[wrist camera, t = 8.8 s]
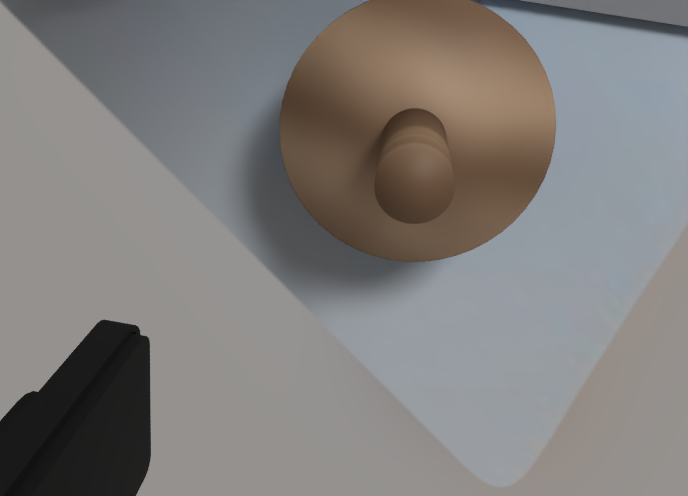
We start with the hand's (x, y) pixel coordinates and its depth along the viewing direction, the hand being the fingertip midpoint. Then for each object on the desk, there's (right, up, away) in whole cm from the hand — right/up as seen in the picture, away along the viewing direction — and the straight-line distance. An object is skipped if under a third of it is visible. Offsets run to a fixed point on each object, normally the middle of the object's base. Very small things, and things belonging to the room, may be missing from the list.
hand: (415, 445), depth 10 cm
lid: (+2, +8, +17) cm, 19 cm away
